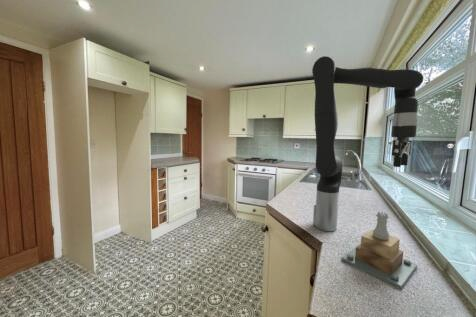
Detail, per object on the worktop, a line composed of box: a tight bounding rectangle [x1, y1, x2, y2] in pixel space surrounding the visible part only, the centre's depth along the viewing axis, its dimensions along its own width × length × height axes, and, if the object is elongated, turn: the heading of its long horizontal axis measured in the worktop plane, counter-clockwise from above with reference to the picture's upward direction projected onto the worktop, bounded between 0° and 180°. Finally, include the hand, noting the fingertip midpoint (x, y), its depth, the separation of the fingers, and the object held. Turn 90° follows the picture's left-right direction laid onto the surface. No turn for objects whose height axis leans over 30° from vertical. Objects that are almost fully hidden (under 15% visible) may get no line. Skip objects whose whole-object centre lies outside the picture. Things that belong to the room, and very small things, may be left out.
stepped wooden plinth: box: [355, 229, 404, 275], centre depth 65 cm, size 10×10×8 cm
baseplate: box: [340, 247, 418, 290], centre depth 65 cm, size 16×16×2 cm
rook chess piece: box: [372, 211, 390, 240], centre depth 64 cm, size 4×4×8 cm
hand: (400, 166), depth 80 cm, fingers open, 8 cm apart
